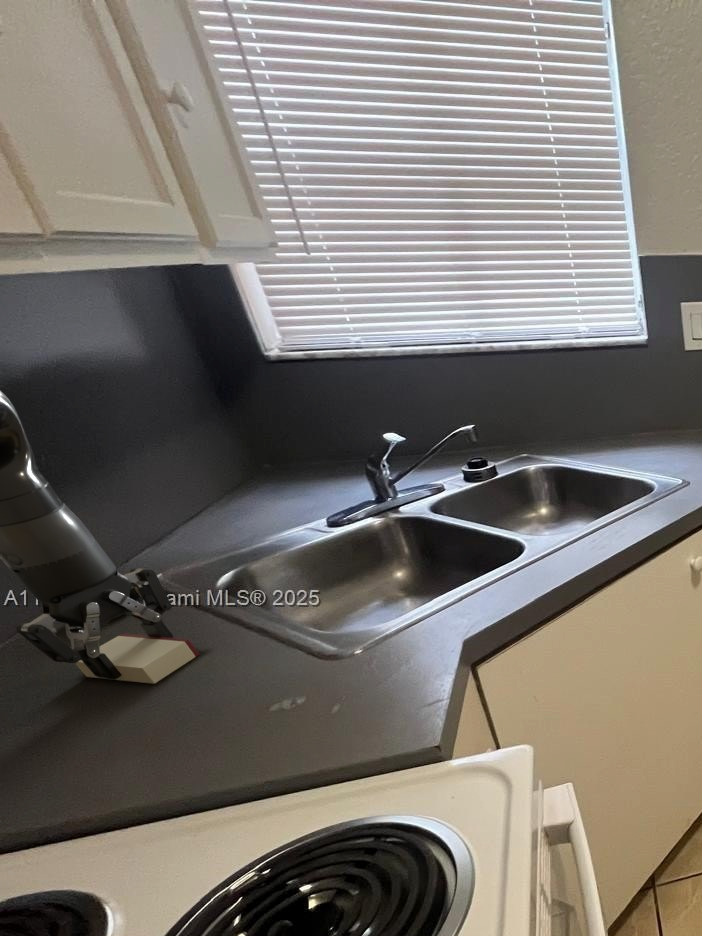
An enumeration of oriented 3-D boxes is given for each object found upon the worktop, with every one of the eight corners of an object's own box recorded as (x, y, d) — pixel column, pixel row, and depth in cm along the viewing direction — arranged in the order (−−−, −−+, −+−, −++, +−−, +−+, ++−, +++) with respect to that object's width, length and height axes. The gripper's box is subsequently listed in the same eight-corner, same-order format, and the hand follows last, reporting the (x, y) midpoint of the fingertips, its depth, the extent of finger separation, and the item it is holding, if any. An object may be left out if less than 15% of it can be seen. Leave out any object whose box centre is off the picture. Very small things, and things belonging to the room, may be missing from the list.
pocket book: (86, 676, 82) (72, 661, 80) (134, 648, 86) (122, 633, 85) (154, 683, 80) (141, 668, 78) (199, 654, 85) (188, 639, 83)
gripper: (92, 520, 80) (171, 627, 89) (-53, 579, 68) (55, 695, 77) (139, 522, 79) (215, 630, 88) (-1, 583, 67) (103, 700, 76)
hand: (140, 660), depth 83 cm, fingers closed on pocket book, 6 cm apart
